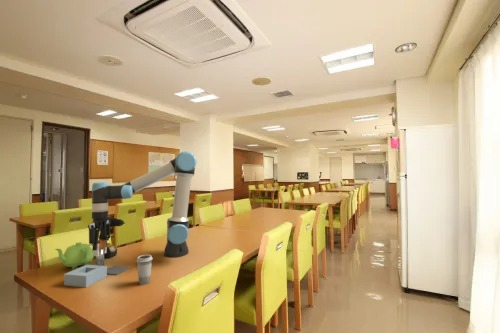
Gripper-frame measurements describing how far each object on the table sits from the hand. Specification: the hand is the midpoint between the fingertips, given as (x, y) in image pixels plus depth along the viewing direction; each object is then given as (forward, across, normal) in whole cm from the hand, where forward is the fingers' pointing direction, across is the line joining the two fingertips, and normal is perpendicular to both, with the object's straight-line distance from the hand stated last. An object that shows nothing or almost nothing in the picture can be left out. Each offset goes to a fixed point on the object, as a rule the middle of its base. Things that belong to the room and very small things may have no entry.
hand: (100, 254), depth 130 cm
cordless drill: (+8, -19, -10) cm, 23 cm away
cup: (+9, +10, +34) cm, 36 cm away
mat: (+8, 0, +10) cm, 13 cm away
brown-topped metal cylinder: (+7, 0, 0) cm, 7 cm away
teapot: (+8, -2, -17) cm, 19 cm away
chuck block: (+8, +13, +5) cm, 16 cm away
